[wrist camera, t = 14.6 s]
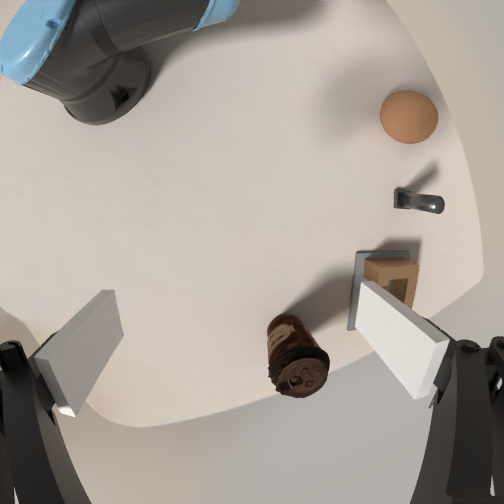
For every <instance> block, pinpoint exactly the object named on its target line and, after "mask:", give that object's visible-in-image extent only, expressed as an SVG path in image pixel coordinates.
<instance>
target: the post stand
mask: <svg viewBox="0 0 504 504" xmlns="http://www.w3.org/2000/svg"><path fill="white" fill-rule="evenodd" d="M444 206H445V203H444V200H443V198H442V197H441V196H435V195H426V194H416V193H411V191H401V190H394V208H399V209H410V208H411V209H416V210H421V211H427V212H432V213H437V214H440V213H442V212H443V210H444Z"/></svg>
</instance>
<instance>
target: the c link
mask: <svg viewBox="0 0 504 504" xmlns="http://www.w3.org/2000/svg"><path fill="white" fill-rule="evenodd" d="M418 271H419V265H418V264H416V263H414V262H412V261H410V260H408V259H406V258H404V257H397V258H378V259H365V262H364V272H363V277H364V278H365V279H367V280H368V281H374V282H375V283H376V284H378V285H379V286H381V287H384V286H388V283H389V280H391V285H390V291H389V293H390V294H392V295H393V296H394V297H396V298H397V299H398V300H400V301H401V302H402V303H404V304H405V305H406V306H408V307H409V308H410V309H412V305H413V300H414V295H415V289H416V284H417V277H418Z"/></svg>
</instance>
